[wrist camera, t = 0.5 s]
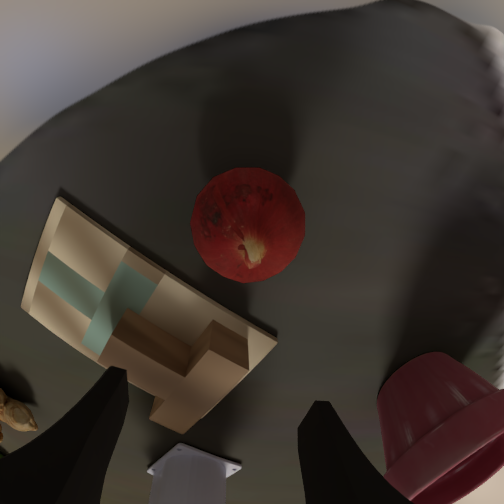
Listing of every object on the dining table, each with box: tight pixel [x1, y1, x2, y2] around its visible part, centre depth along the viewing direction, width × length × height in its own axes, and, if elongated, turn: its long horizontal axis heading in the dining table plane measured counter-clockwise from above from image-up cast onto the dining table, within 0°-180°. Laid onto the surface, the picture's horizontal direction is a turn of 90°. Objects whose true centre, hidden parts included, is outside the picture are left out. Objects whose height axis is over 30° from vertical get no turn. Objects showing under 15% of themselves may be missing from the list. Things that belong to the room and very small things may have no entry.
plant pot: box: [377, 352, 504, 504], centre depth 20 cm, size 14×14×13 cm
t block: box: [97, 308, 249, 434], centre depth 20 cm, size 9×8×4 cm
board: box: [21, 196, 278, 419], centre depth 21 cm, size 11×19×1 cm, turn 54°
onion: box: [190, 168, 305, 283], centre depth 16 cm, size 6×6×8 cm
